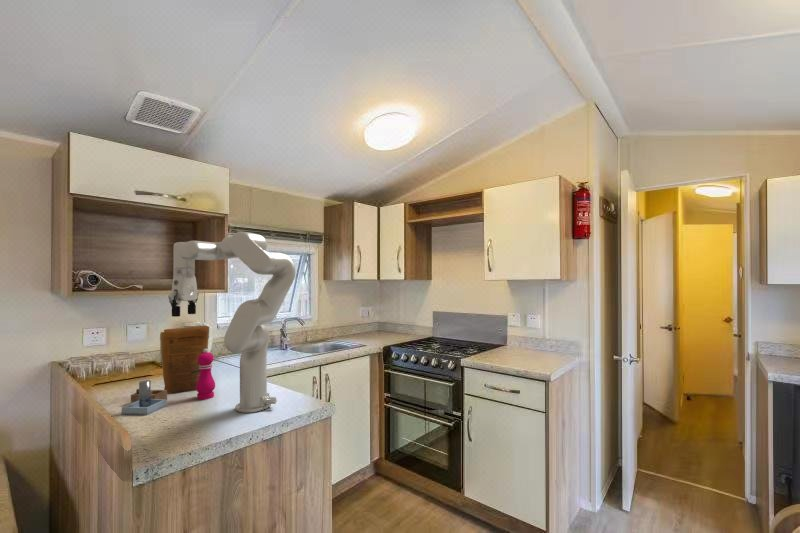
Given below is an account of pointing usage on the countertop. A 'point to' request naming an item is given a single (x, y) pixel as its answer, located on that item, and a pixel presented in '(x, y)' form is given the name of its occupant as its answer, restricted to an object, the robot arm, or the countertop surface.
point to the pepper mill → (205, 376)
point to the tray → (137, 410)
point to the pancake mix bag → (182, 356)
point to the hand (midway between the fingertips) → (184, 315)
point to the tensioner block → (154, 395)
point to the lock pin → (144, 393)
